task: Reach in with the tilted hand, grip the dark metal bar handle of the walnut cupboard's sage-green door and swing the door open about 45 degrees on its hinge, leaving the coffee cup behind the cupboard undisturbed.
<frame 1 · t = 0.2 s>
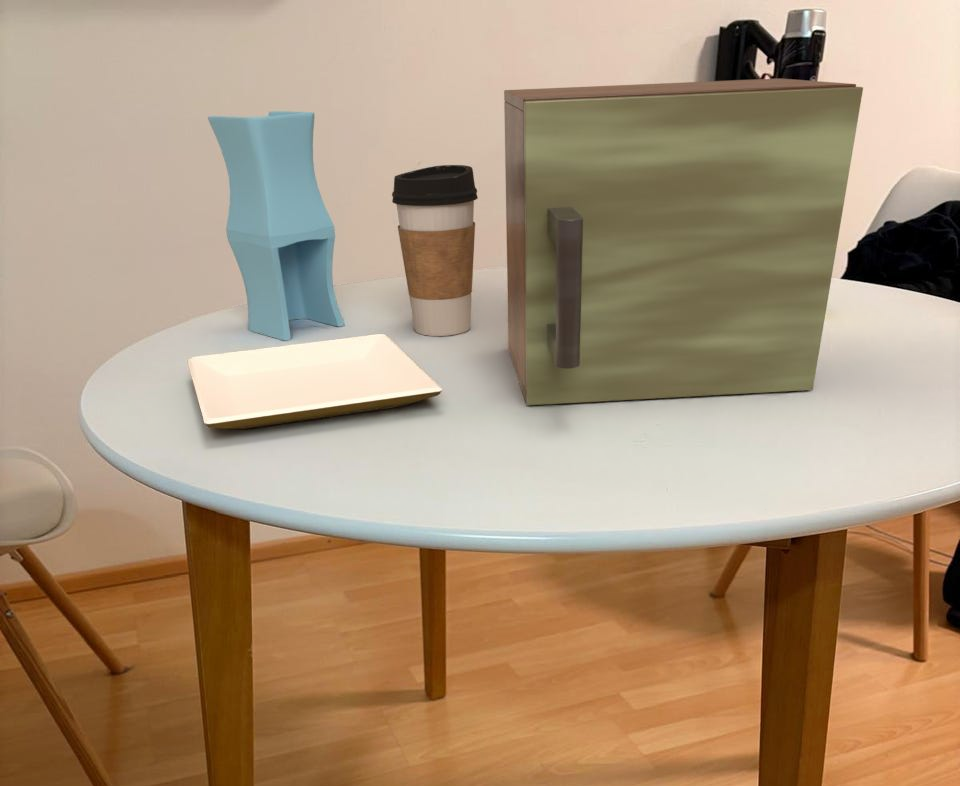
cupboard: (646, 366, 82), on the table
coffee cup: (442, 330, 96), on the table
door: (690, 265, 66), point 11 cm above the table, hinge at 0.0°
plate: (310, 397, 79), on the table
vase: (294, 328, 99), on the table
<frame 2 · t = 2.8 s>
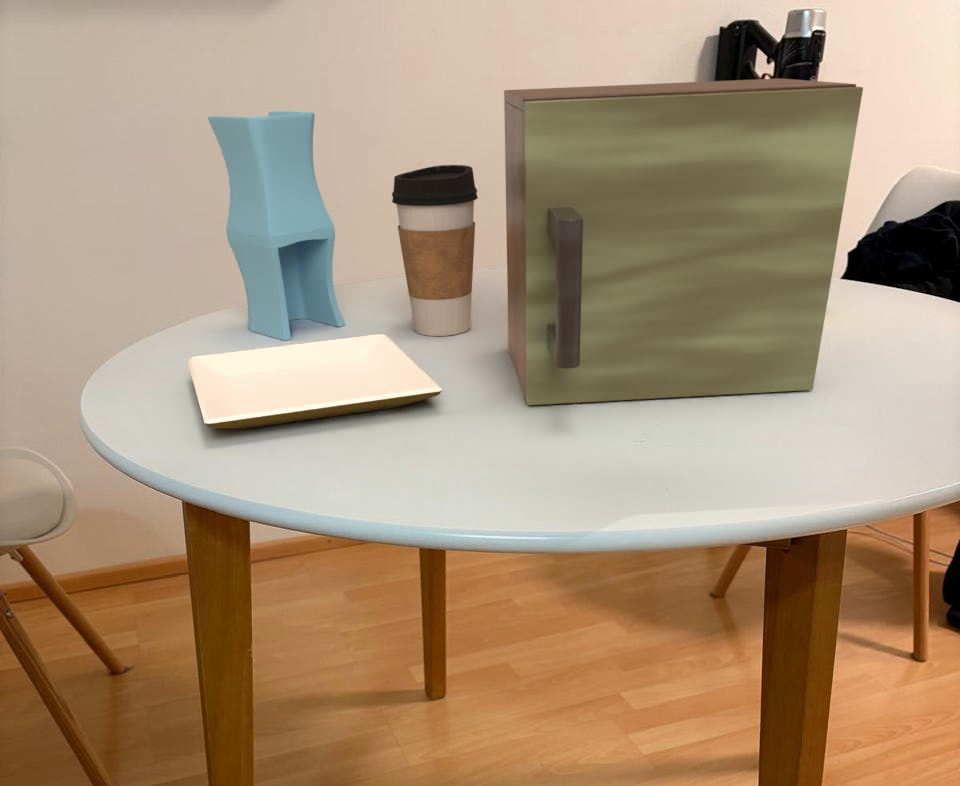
nothing on the table moved.
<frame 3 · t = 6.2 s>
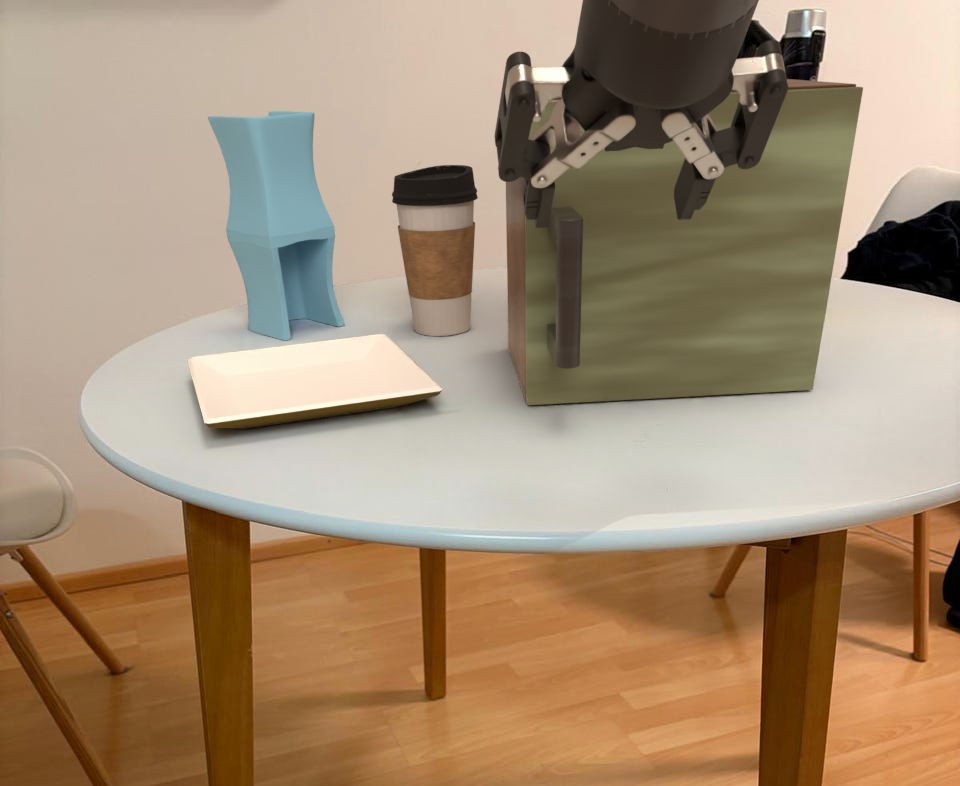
hand: (610, 211, 54), 16 cm above the table, tool tilted 45°, fingers open, 8 cm apart
nothing on the table moved.
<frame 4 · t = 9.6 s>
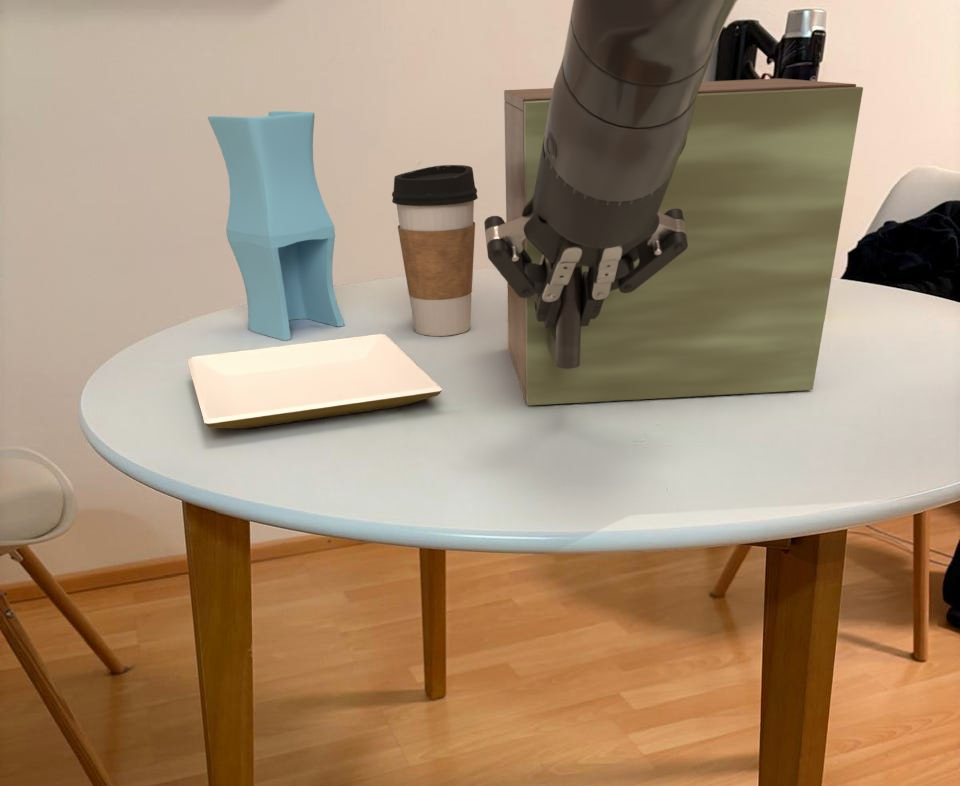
hand: (563, 315, 67), 8 cm above the table, tool tilted 45°, fingers closed on door, 2 cm apart
door: (690, 265, 66), point 11 cm above the table, hinge at 0.1°, touching gripper
everything else where it was.
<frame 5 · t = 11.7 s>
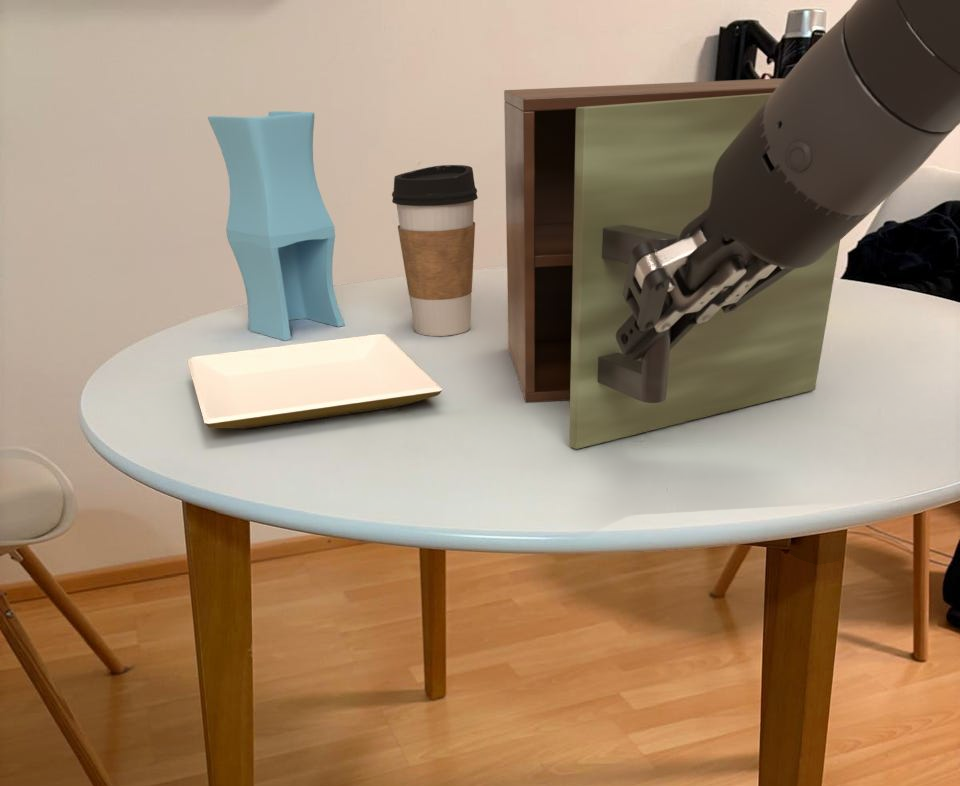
hand: (639, 344, 59), 8 cm above the table, tool tilted 45°, fingers closed on door, 2 cm apart
door: (743, 277, 62), point 11 cm above the table, hinge at 25.5°, touching gripper
everything else where it was.
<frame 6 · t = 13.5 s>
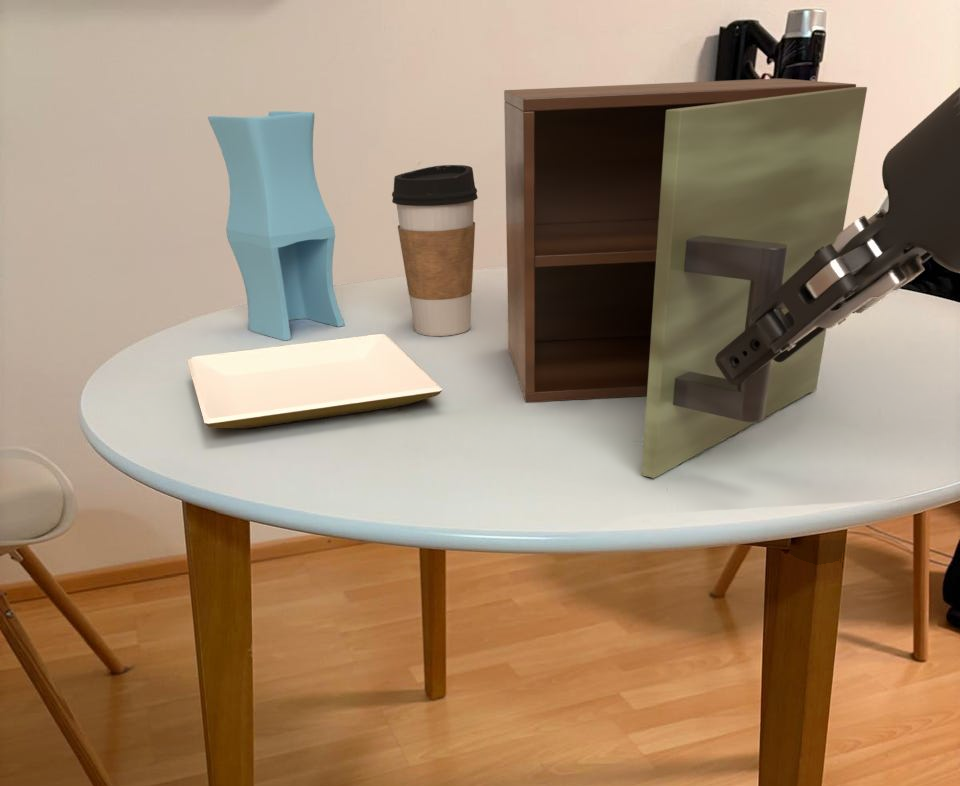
hand: (749, 359, 56), 8 cm above the table, tool tilted 45°, fingers open, 5 cm apart
door: (796, 283, 60), point 11 cm above the table, hinge at 43.4°
everything else where it was.
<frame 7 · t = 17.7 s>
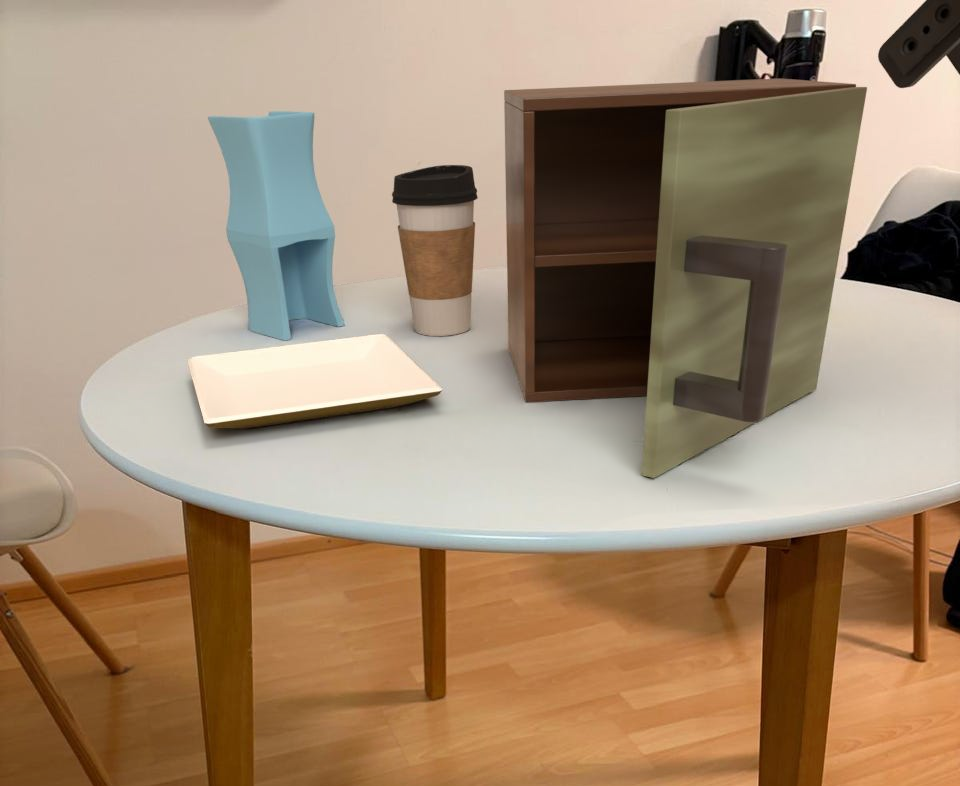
hand: (924, 68, 44), 23 cm above the table, tool tilted 45°, fingers open, 8 cm apart
nothing on the table moved.
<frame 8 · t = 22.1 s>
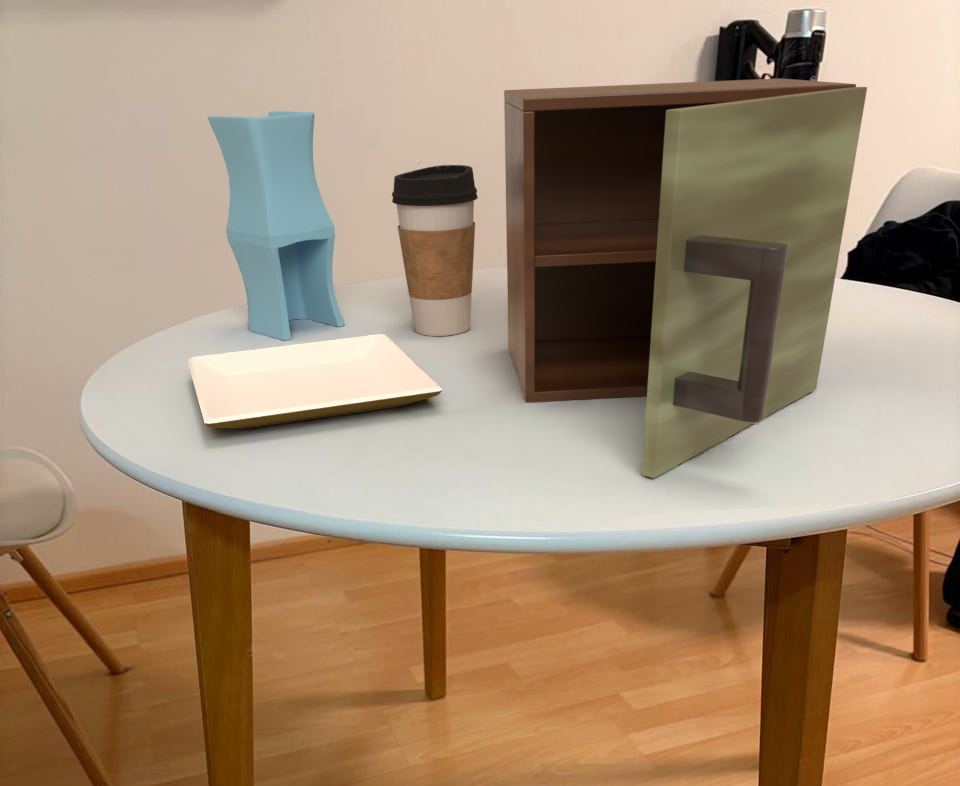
nothing on the table moved.
at the end: door at +43° (first picture: +0°); coffee cup moved 0.2 cm from its start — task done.
